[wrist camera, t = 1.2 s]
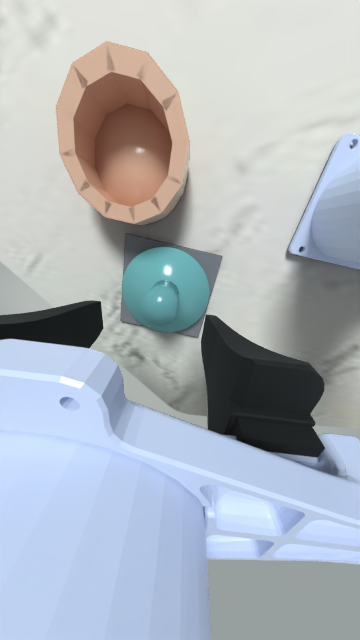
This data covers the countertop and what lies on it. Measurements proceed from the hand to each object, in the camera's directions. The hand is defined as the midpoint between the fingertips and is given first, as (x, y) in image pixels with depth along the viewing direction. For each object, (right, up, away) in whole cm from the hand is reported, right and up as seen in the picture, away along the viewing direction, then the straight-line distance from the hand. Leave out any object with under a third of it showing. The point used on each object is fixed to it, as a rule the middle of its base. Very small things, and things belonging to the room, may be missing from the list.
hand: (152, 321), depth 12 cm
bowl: (-1, +12, +2) cm, 12 cm away
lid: (0, +3, +6) cm, 7 cm away
